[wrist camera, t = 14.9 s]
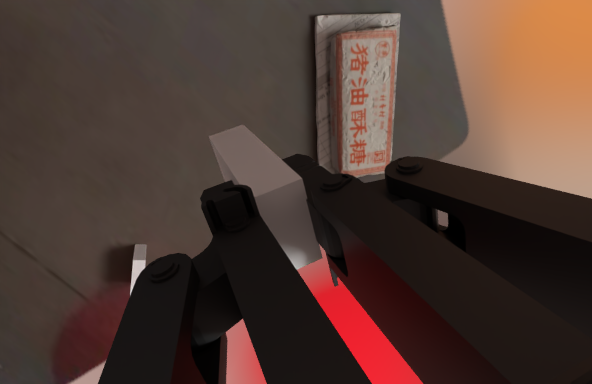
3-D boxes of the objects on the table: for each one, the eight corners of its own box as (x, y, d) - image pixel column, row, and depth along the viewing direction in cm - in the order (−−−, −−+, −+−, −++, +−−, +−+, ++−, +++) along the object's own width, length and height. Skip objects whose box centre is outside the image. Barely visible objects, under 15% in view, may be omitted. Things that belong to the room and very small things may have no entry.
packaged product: (407, 174, 45) (331, 187, 42) (385, 163, 49) (315, 174, 46) (419, 9, 38) (330, 11, 36) (393, 13, 43) (311, 15, 40)
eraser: (131, 281, 43) (129, 300, 40) (134, 243, 42) (132, 260, 38) (143, 281, 44) (142, 300, 40) (146, 244, 42) (145, 260, 39)
